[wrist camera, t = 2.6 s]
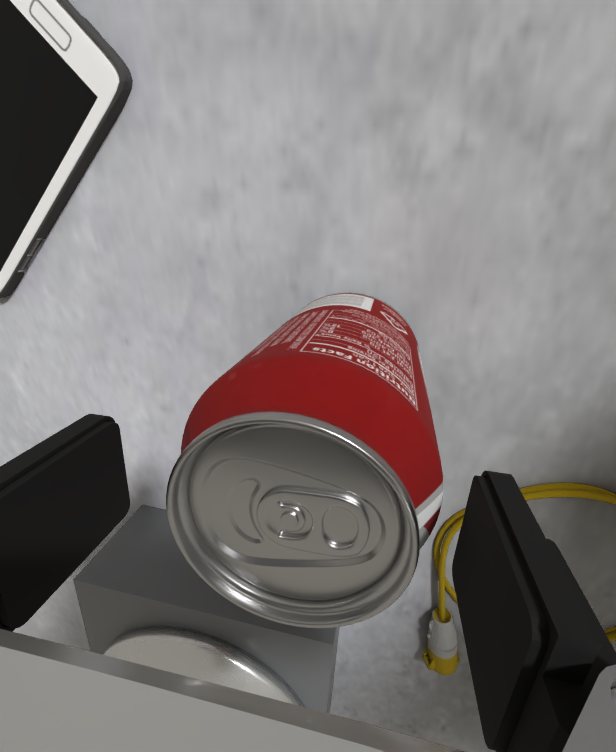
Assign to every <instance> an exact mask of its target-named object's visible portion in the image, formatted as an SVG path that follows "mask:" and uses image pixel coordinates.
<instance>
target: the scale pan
mask: <svg viewBox="0 0 616 752" xmlns="http://www.w3.org/2000/svg"><path fill="white" fill-rule="evenodd" d="M103 655H106V656H110V657H114V658H118V659H121V660H125V661H129V662H133V663H137V664H141V665H145V666H149V667H153V668H156V669H160V670H164V671H168V672H172V673H176V674H180V675H184V676H187V677H191V678H195V679H199V680H203V681H207V682H211V683H215V684H218V685H222V686H226V687H230V688H234V689H237V690H241V691H245V692H249V693H252V694H256V695H260V696H264V697H268V698H271V699H275V700H279V701H283V702H287V703H290V704H294V705H298V706H302V707H305V706H304V705H303V703H302V701H301V700H300V698H299V697H298V696H297V694H296V693H295V692H294V690H293V689H292V688H291V687H290V686H289V685H288V684H287V683H286V682H285V681H284V680H283V678H281V677H280V676H279V675H278V674H277V673H276V672H275V671H273V670H272V669H271V668H270V667H269V666H267V665H266V664H264V663H263V662H262V661H260V660H259V659H258V658H256V657H254V656H253V655H251V654H249V653H248V652H246V651H245V650H243V649H241V648H239V647H237V646H235V645H233V644H231V643H229V642H227V641H224V640H222V639H219V638H217V637H214V636H212V635H209V634H206V633H202V632H199V631H195V630H191V629H186V628H181V627H173V626H148V627H141V628H137V629H133V630H130V631H128V632H126V633H124V634H122V635H120V636H119V637H117V638H116V639H115V640H114V641H113V642H112V643H111V644H110V645H109V647H108V648H107V650H106V651H105V652H104V654H103Z"/></svg>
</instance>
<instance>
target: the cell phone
mask: <svg viewBox="0 0 616 752" xmlns="http://www.w3.org/2000/svg"><path fill="white" fill-rule="evenodd" d="M131 89H132V77H131V73H130V71H129V69H128V67H127V66H126V64H125V63H124V61H123V60H122V59H121V58H120V56H119V55H118V54H117V53H116V52H115V50H114V49H113V48H112V47H111V46H110V45H109V44H108V43H107V42H106V41H105V40H104V39H103V38H102V36H101V35H100V33H99V32H98V31H97V30H96V29H95V28H94V27H93V26H92V25H91V23H90V22H89V21H88V20H87V19H85V18H84V17H83V16H81V15H80V14H79V12H78V11H77V10H76V9H75V8H74V7H73V6H72V4H71V3H70V2H69V1H68V0H0V298H1V297H6V296H9V295H10V294H11V293H12V292H13V291H14V290H15V288H16V286H17V285H18V283H19V282H20V280H21V278H22V277H23V275H24V272H23V271H24V269H25V267H26V266H27V264H28V262H29V261H30V259H31V257H32V256H33V254H34V252H35V250H36V249H37V247H38V245H39V244H40V242H41V240H42V239H45V238H46V237H47V235H48V233H49V232H50V230H51V228H52V227H53V225H54V223H55V222H56V220H57V218H58V217H59V215H60V213H61V212H62V210H63V208H64V207H65V205H66V203H67V202H68V200H69V198H70V196H71V195H72V193H73V191H74V190H75V188H76V186H77V185H78V183H79V181H80V180H81V178H82V176H83V175H84V173H85V171H86V169H87V168H88V166H89V164H90V163H91V161H92V159H93V158H94V156H95V154H96V153H97V151H98V149H99V147H100V146H101V144H102V142H103V141H104V139H105V137H106V136H107V134H108V132H109V131H110V129H111V127H112V126H113V124H114V122H115V120H116V119H117V117H118V115H119V114H120V112H121V110H122V109H123V107H124V105H125V103H126V101H127V98H128V96H129V94H130V92H131Z"/></svg>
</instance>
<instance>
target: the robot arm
mask: <svg viewBox="0 0 616 752" xmlns="http://www.w3.org/2000/svg"><path fill="white" fill-rule="evenodd" d="M129 507H130V498H129V491H128V484H127V477H126V470H125V463H124V456H123V449H122V442H121V435H120V428H119V425H118V424H117V423H115V421H114V419H113V418H112V417H110V416H103V415H96V414H88V415H86V416H84V417H82V418H81V419H79V420H77V421H76V422H74V423H72V424H71V425H69V426H67V427H66V428H64V429H62V430H61V431H59V432H57V433H56V434H54V435H52V436H51V437H49V438H47V439H46V440H44V441H42V442H41V443H39V444H37V445H36V446H34V447H32V448H31V449H29V450H27V451H26V452H24V453H22V454H21V455H19V456H17V457H16V458H14V459H12V460H11V461H9V462H7V463H6V464H4V465H2V466H1V467H0V752H463V751H460V750H457V749H454V748H450V747H447V746H443V745H439V744H436V743H432V742H429V741H425V740H422V739H418V738H415V737H411V736H408V735H404V734H401V733H397V732H394V731H390V730H387V729H383V728H380V727H376V726H373V725H369V724H366V723H362V722H359V721H355V720H351V719H347V718H344V717H340V716H336V715H332V714H328V713H325V712H321V711H317V710H313V709H309V708H306V707H302V706H298V705H294V704H290V703H287V702H283V701H279V700H275V699H271V698H268V697H264V696H260V695H256V694H252V693H249V692H245V691H241V690H237V689H234V688H230V687H226V686H222V685H218V684H215V683H211V682H207V681H203V680H199V679H195V678H191V677H187V676H184V675H180V674H176V673H172V672H168V671H164V670H160V669H156V668H153V667H149V666H145V665H141V664H137V663H133V662H129V661H125V660H121V659H118V658H114V657H110V656H106V655H102V654H98V653H94V652H90V651H86V650H82V649H78V648H74V647H71V646H67V645H63V644H59V643H55V642H51V641H47V640H43V639H39V638H35V637H31V636H27V635H23V634H19V633H15V632H13V631H14V630H15V628H18V627H21V626H22V625H24V624H25V623H26V622H27V621H28V620H29V619H30V618H31V617H32V616H33V615H34V614H35V612H36V611H37V610H38V609H39V608H40V607H41V606H42V605H43V604H44V603H45V602H46V601H47V600H48V598H49V597H50V596H51V595H52V594H53V593H54V592H55V591H56V590H57V589H58V588H59V587H60V586H61V585H62V583H63V582H64V581H65V580H66V579H67V578H68V577H69V576H70V575H71V574H72V573H73V572H74V571H75V569H76V568H77V567H78V566H79V565H80V564H81V563H82V562H83V561H84V560H85V559H86V558H87V557H88V556H89V554H90V553H91V552H92V551H93V550H94V549H95V548H96V547H97V546H98V545H99V544H100V543H101V542H102V540H103V539H104V538H105V537H106V536H107V535H108V534H109V533H110V532H111V531H112V530H113V529H114V528H115V527H116V525H117V524H118V523H119V522H120V521H121V520H122V519H123V518H124V517H125V516H126V514H127V512H128V510H129ZM452 576H453V582H454V587H455V592H456V597H457V602H458V607H459V612H460V618H461V623H462V628H463V633H464V638H465V643H466V648H467V653H468V658H469V663H470V669H471V674H472V679H473V684H474V689H475V694H476V699H477V704H478V709H479V715H480V720H481V725H482V730H483V735H484V739H485V743H486V745H487V747H488V748H489V749H492V750H496V752H616V652H615V650H614V648H613V646H612V645H611V643H610V641H609V639H608V637H607V636H606V634H605V632H604V630H603V628H602V627H601V625H600V623H599V621H598V619H597V618H596V616H595V614H594V612H593V610H592V608H591V607H590V605H589V603H588V601H587V599H586V598H585V596H584V594H583V592H582V590H581V589H580V587H579V585H578V583H577V581H576V580H575V578H574V576H573V574H572V572H571V570H570V569H569V567H568V565H567V563H566V561H565V560H564V558H563V556H562V554H561V552H560V551H559V549H558V547H557V546H556V544H555V543H554V542H553V541H551V540H550V539H546V538H545V536H544V534H543V532H542V530H541V529H540V527H539V525H538V523H537V521H536V519H535V517H534V515H533V513H532V512H531V510H530V508H529V506H528V504H527V502H526V500H525V498H524V496H523V495H522V493H521V491H520V489H519V487H518V485H517V483H516V481H515V479H514V478H513V476H512V475H510V474H505V473H498V472H491V471H484V472H483V474H482V476H474V478H473V481H472V485H471V489H470V493H469V497H468V501H467V505H466V510H465V514H464V518H463V522H462V526H461V530H460V534H459V538H458V543H457V547H456V551H455V555H454V559H453V565H452Z"/></svg>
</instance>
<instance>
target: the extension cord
mask: <svg viewBox="0 0 616 752" xmlns="http://www.w3.org/2000/svg"><path fill="white" fill-rule="evenodd" d="M520 491H521V493H522V495H523V496H524V498H525V500H526V501H527V500H534V499H542V498H553V497H576V498H587V499H594V500H600V501H604V502H608V503H612V504H616V494H614V493H612V492H610V491H607V490H605V489H602V488H598V487H594V486H590V485H584V484H576V483H551V484H541V485H535V486H529V487H524V488H520ZM465 510H466V508H465V509H463V510H461V511H459V512H458V513H456V514H455V515H453V516H452V517H451V518H450V519H448V520H447V521H446V522H445V524H444V525H443V526H442V528H441V529H440V531H439V533H438V535H437V537H436V540H435V545H434V562H435V567H436V570H437V572H438V575H439V607H437V608H435V609H434V610H433V612H432V618H431V621H430V622H429V629H428V632H427V637H428V648H427V649H426V651H425V652H424V654H423V656H422V657H423V659H424V661H425V663H426V665H427V667H428V669H429V670H435V671H436V672H438V673H439V674H442V675H450V674H452V673H454V672H455V670H456V668H457V664H458V662H459V661H460V659H459V657H458V655H457V651H458V637H457V634H456V629H455V626H454V622H453V617H452V614H451V613H450V611H448V610H447V609H446V608H445V588H446V590H447V591H448V592H449V594H450V595H451V596H452V597H453V599H454V600H455V601H456V602H457V597H456V592H455V591H454V590H453V588H452V587H451V586H450V584H449V583H448V581H447V579H446V577H445V562H446V555H447V551H448V547H449V545H450V542H451V540H452V538H453V536H454V535H455V533H456V532H457V531H458V530H459V529H460V528H461V526H462V522H463V518H464V514H465ZM459 519H460V520H459ZM456 521H457V522H456ZM455 522H456V523H455ZM454 523H455V524H454ZM453 524H454V525H453ZM452 525H453V526H452ZM451 526H452V527H451ZM450 527H451V529H450V530H449V531H448V533H447V535H446V536H445V538H444V541H443V544H442V547H441V552H440V546H441V542H442V539H443V537H444V535H445V533H446V532H447V530H448V529H449V528H450ZM457 603H458V602H457ZM615 631H616V627H613V628H610V629H607V630H605V631H604V632H605V634H608V633H611V632H614V633H611V634H608V635H606V636H607V637H608V639H609V641H610V642H613V641H616V632H615ZM428 657H429V658H428Z"/></svg>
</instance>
